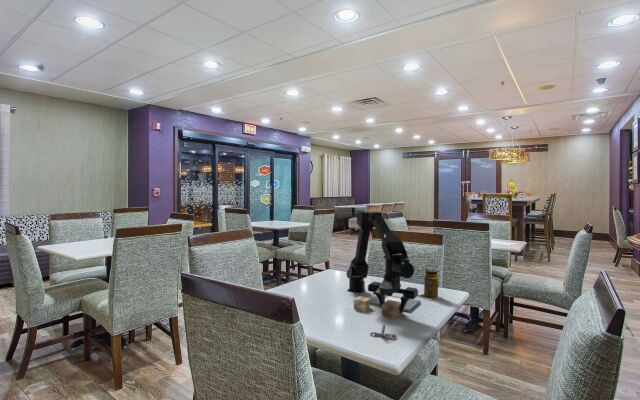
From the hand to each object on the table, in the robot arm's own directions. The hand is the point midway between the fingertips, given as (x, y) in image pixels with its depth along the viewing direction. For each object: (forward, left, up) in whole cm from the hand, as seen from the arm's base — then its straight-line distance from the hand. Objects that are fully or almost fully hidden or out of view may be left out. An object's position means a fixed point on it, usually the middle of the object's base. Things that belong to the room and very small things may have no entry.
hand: (392, 311), depth 136 cm
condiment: (+6, +31, -1) cm, 32 cm away
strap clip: (+5, -21, -2) cm, 22 cm away
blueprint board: (-4, +13, -1) cm, 14 cm away
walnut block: (0, 0, -1) cm, 1 cm away
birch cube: (-13, 0, -1) cm, 13 cm away
